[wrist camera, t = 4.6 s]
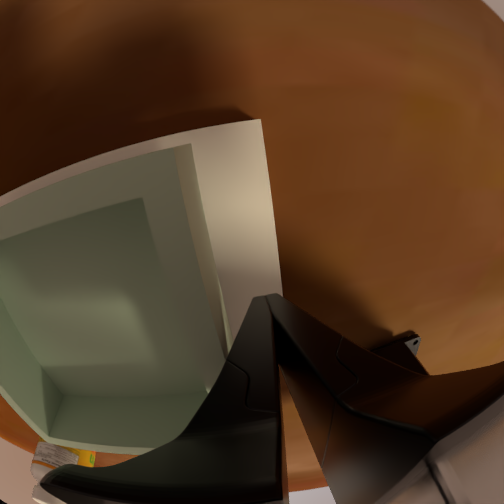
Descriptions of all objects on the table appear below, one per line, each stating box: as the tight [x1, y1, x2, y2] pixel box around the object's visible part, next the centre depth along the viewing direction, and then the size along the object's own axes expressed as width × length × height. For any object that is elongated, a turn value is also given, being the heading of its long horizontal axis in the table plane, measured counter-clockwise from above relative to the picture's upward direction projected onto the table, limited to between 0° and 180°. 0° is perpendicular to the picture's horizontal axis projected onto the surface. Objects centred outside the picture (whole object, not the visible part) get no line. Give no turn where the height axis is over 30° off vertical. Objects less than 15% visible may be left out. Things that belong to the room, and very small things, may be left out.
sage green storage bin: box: [0, 143, 234, 455], centre depth 9 cm, size 11×11×6 cm
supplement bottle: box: [31, 436, 96, 504], centre depth 14 cm, size 5×5×10 cm
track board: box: [0, 119, 283, 340], centre depth 11 cm, size 12×28×4 cm, turn 98°
